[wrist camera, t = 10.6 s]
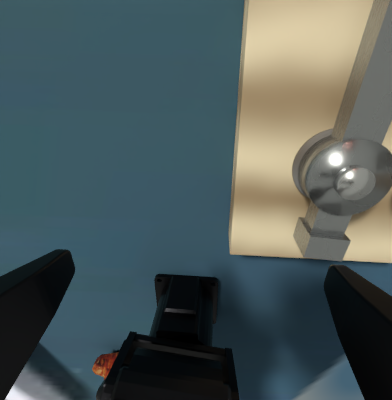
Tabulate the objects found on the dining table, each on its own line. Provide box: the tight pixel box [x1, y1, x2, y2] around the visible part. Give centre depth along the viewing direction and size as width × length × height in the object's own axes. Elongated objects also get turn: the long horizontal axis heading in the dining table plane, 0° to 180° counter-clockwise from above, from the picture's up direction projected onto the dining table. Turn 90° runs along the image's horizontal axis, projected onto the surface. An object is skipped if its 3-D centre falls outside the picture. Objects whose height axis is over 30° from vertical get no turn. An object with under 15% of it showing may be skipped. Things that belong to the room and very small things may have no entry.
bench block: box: [229, 0, 392, 263], centre depth 14 cm, size 22×13×6 cm, turn 0°
